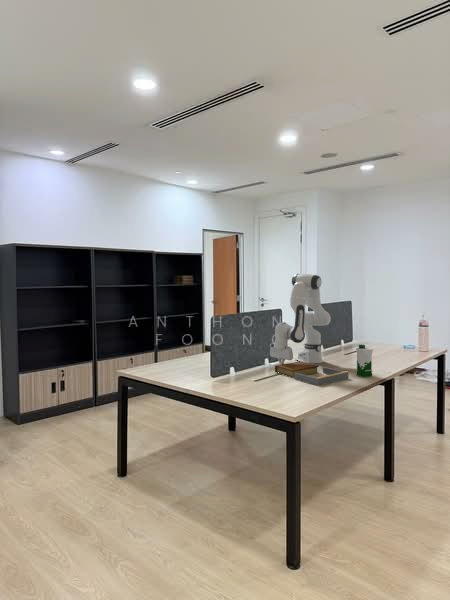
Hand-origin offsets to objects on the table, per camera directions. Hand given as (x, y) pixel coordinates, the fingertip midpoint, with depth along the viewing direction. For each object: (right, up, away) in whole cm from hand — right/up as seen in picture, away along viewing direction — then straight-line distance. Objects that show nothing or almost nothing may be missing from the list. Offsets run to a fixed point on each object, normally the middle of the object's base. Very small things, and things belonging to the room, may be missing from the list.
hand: (281, 364), depth 298 cm
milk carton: (+51, -4, -23) cm, 57 cm away
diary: (+9, -4, -12) cm, 15 cm away
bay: (+21, -5, -29) cm, 36 cm away
